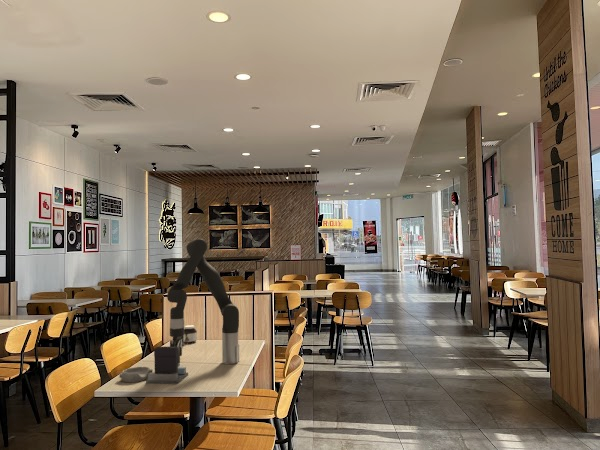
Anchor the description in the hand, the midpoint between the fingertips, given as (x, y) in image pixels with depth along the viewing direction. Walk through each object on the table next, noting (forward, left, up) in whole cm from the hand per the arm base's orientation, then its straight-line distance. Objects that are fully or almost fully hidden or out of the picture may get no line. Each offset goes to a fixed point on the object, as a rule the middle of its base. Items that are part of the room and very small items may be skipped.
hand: (176, 357), depth 258 cm
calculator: (0, +16, -6) cm, 17 cm away
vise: (0, +14, -8) cm, 16 cm away
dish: (+17, +14, -8) cm, 23 cm away
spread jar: (+22, -80, -8) cm, 83 cm away
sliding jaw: (0, +4, -6) cm, 7 cm away
